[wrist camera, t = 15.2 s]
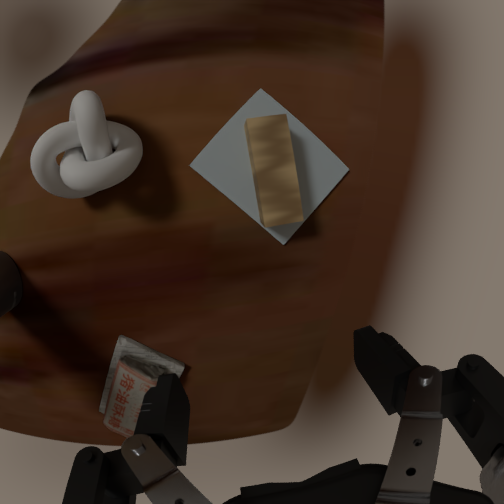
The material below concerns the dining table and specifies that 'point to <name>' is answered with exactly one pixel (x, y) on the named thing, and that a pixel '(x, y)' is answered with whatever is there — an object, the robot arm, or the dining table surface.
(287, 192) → the oak block
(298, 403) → the dining table surface
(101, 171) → the white decorative knot
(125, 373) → the packaged product
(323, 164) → the felt mat
